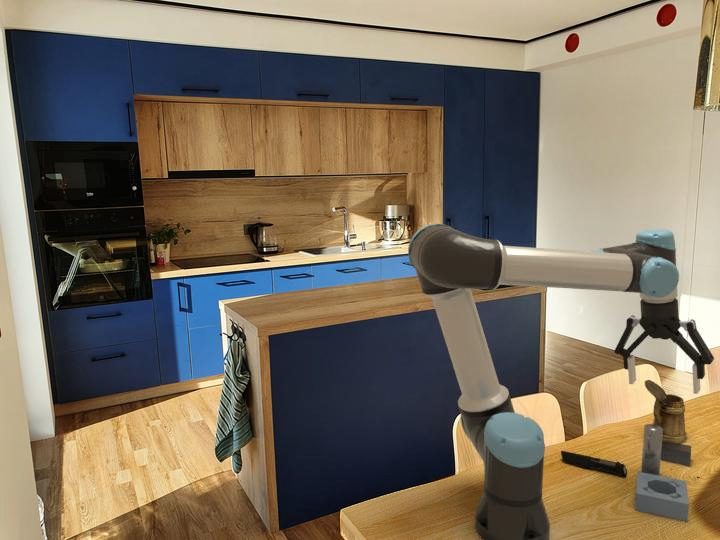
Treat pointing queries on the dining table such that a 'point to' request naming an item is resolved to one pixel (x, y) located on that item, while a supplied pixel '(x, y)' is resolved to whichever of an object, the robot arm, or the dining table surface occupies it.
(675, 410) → the wooden mug
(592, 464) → the electric trimmer
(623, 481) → the dining table surface
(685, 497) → the bore block
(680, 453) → the square bar
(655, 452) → the ball
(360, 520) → the dining table surface
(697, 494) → the dining table surface
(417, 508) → the dining table surface
